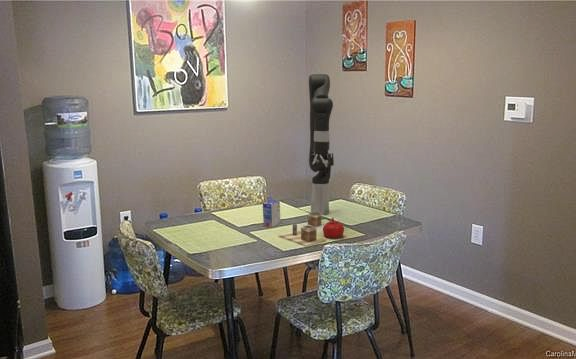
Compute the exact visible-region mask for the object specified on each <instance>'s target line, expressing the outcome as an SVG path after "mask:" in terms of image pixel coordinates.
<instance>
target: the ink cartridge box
mask: <svg viewBox="0 0 576 359" xmlns="http://www.w3.org/2000/svg"><path fill="white" fill-rule="evenodd" d="M266 198H267V201H266V202H263V203H262V214H263V215H262V216H263V221H262V222H263V227H269V228H272V227H276V226H277V225H279V224H280V223H281V202H280V199H272V196H268V197H266Z"/></svg>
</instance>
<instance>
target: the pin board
mask: <svg viewBox="0 0 576 359" xmlns="http://www.w3.org/2000/svg"><path fill="white" fill-rule="evenodd" d="M297 226H298V225H297V223H292V231H287V232H284V233H280V234H277V235H278V238H280V239H281V238H282V239H283V240H287V241H290V242H292V243H295V244H297V245H300V246H304V247H306V248H307V247H310V246H314V245H317V244H321V243H325V242H327V239H325V238H322V237H320V236H317V240H314V241H310V242H307V241H304V240H301V230H299V229H297Z"/></svg>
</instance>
